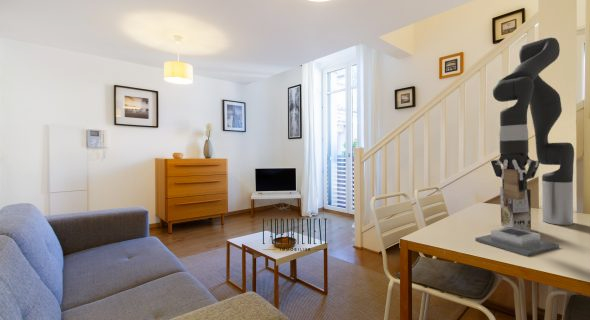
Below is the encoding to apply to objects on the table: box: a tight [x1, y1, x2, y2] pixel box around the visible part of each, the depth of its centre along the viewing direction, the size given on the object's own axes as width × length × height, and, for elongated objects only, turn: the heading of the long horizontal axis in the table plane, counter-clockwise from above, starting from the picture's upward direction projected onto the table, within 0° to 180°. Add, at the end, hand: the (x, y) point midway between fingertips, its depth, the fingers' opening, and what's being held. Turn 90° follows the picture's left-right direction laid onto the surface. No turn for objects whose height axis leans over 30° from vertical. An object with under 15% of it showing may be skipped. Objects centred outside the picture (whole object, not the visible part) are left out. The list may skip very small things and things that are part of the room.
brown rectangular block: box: [504, 169, 525, 200], centre depth 92 cm, size 4×4×10 cm
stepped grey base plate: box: [474, 227, 560, 257], centre depth 92 cm, size 16×16×4 cm
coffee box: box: [499, 186, 532, 232], centre depth 109 cm, size 9×6×16 cm
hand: (514, 190), depth 92 cm, fingers closed on brown rectangular block, 4 cm apart
